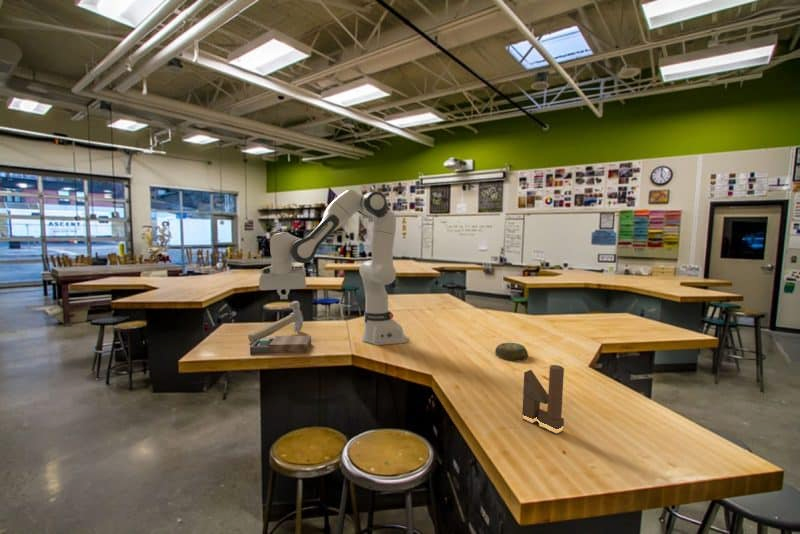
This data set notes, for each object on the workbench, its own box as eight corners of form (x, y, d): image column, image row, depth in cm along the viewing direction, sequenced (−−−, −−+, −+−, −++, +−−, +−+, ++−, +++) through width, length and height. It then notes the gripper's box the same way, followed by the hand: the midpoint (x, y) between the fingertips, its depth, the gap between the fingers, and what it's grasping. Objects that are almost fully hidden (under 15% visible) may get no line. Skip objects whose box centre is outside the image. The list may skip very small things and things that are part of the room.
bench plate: (311, 344, 176) (311, 335, 176) (306, 353, 164) (306, 344, 163) (276, 344, 175) (276, 336, 175) (269, 353, 162) (268, 344, 162)
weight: (489, 353, 167) (489, 342, 166) (514, 350, 171) (515, 339, 171) (507, 363, 154) (507, 351, 154) (534, 360, 159) (534, 348, 158)
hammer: (250, 325, 172) (300, 301, 195) (244, 323, 175) (294, 300, 198) (257, 355, 176) (306, 328, 199) (252, 353, 179) (300, 327, 202)
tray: (276, 344, 175) (276, 338, 175) (269, 353, 162) (268, 346, 162) (259, 344, 174) (258, 338, 174) (250, 353, 162) (249, 347, 161)
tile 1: (260, 342, 170) (260, 346, 170) (257, 345, 166) (257, 349, 166) (269, 342, 170) (269, 346, 170) (266, 345, 166) (266, 349, 166)
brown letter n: (528, 415, 111) (531, 356, 109) (563, 431, 102) (567, 367, 100) (521, 419, 108) (524, 359, 106) (556, 435, 100) (560, 370, 98)
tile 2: (270, 342, 170) (270, 338, 170) (268, 345, 167) (268, 340, 166) (261, 342, 170) (261, 338, 170) (259, 345, 166) (259, 340, 166)
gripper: (306, 267, 171) (308, 296, 173) (260, 268, 169) (263, 298, 171) (304, 268, 165) (306, 299, 166) (256, 270, 163) (259, 301, 165)
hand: (283, 299), depth 169 cm, fingers closed
